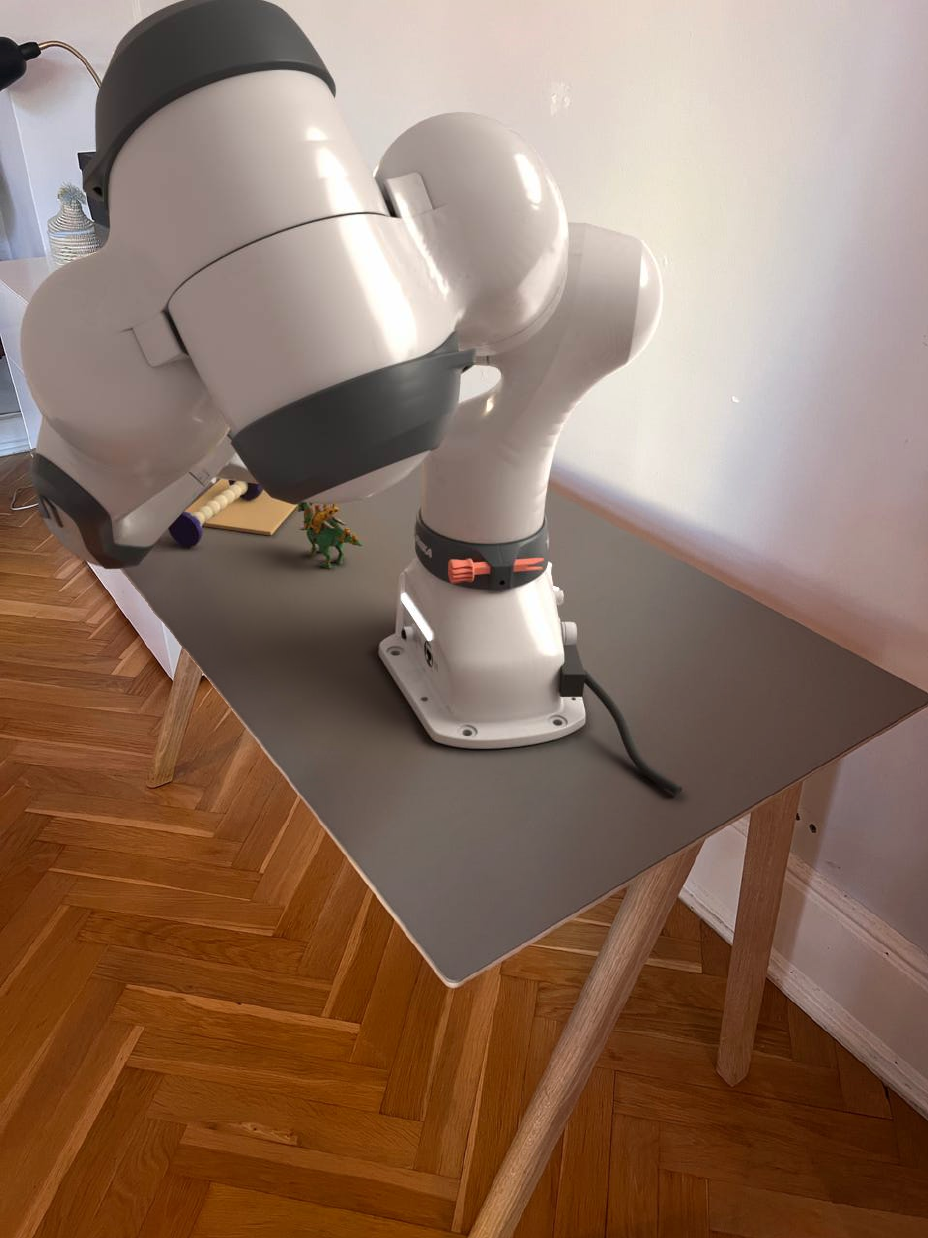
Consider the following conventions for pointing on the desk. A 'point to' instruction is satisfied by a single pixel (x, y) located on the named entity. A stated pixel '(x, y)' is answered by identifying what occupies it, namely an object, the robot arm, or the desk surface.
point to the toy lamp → (210, 512)
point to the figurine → (325, 530)
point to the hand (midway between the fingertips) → (204, 476)
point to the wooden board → (245, 512)
